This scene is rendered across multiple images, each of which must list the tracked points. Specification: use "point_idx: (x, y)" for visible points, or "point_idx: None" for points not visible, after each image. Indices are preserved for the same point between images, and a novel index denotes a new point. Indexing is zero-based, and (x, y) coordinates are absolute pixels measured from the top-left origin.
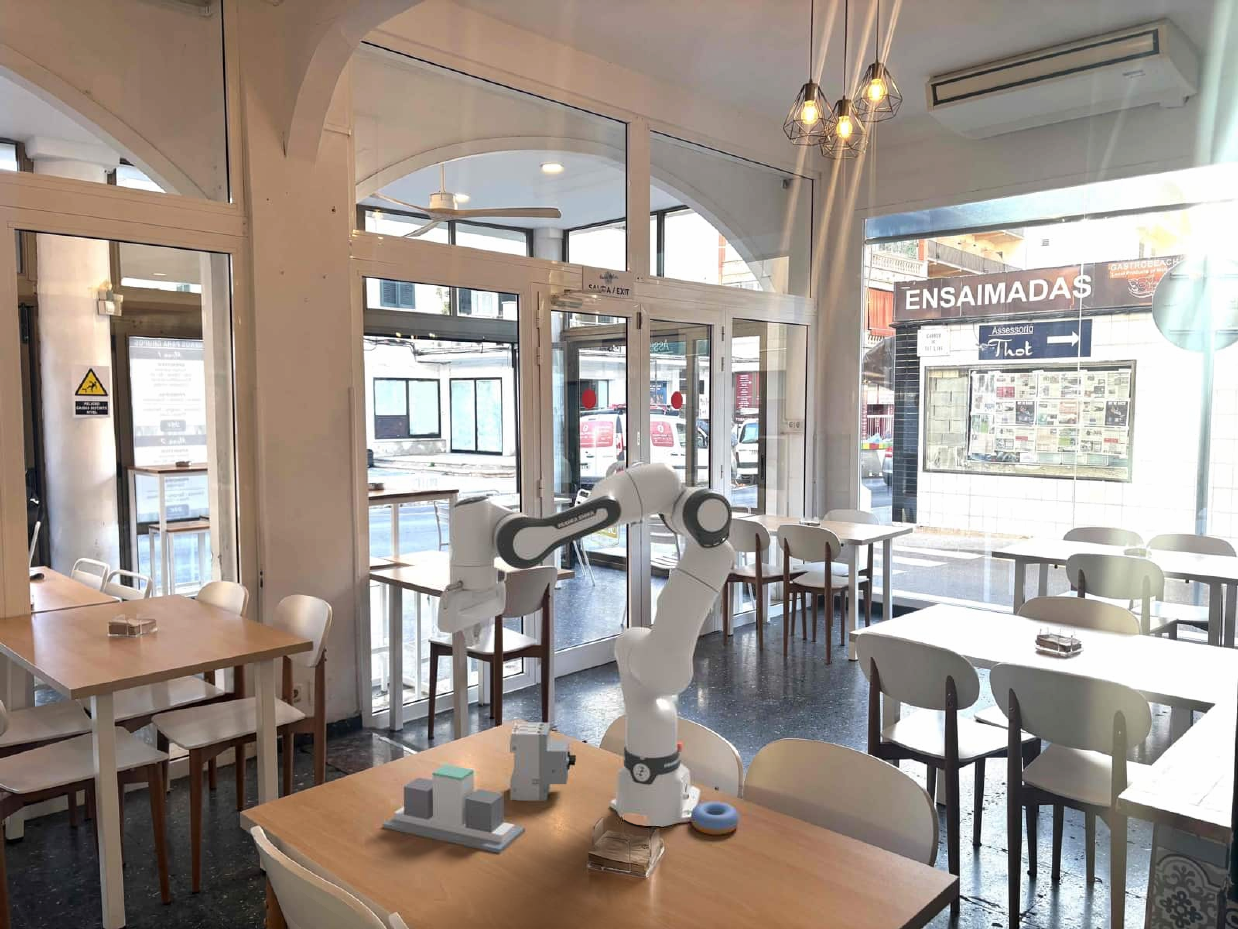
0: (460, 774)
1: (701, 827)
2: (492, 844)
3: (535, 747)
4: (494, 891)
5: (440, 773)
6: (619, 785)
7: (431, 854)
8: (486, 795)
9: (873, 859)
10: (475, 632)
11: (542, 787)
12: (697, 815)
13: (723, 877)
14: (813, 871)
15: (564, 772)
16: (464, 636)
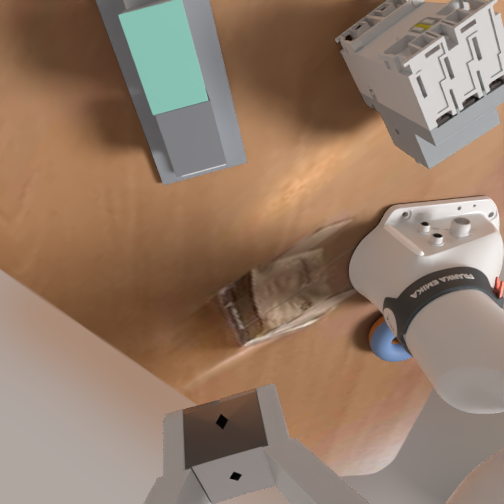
0: (165, 95)
1: (370, 336)
2: (166, 164)
3: (409, 113)
4: (82, 252)
5: (130, 42)
6: (398, 250)
7: (70, 87)
8: (197, 141)
9: (389, 437)
10: (287, 488)
11: (373, 103)
12: (382, 336)
13: (289, 388)
14: (344, 422)
15: (404, 150)
16: (149, 497)
